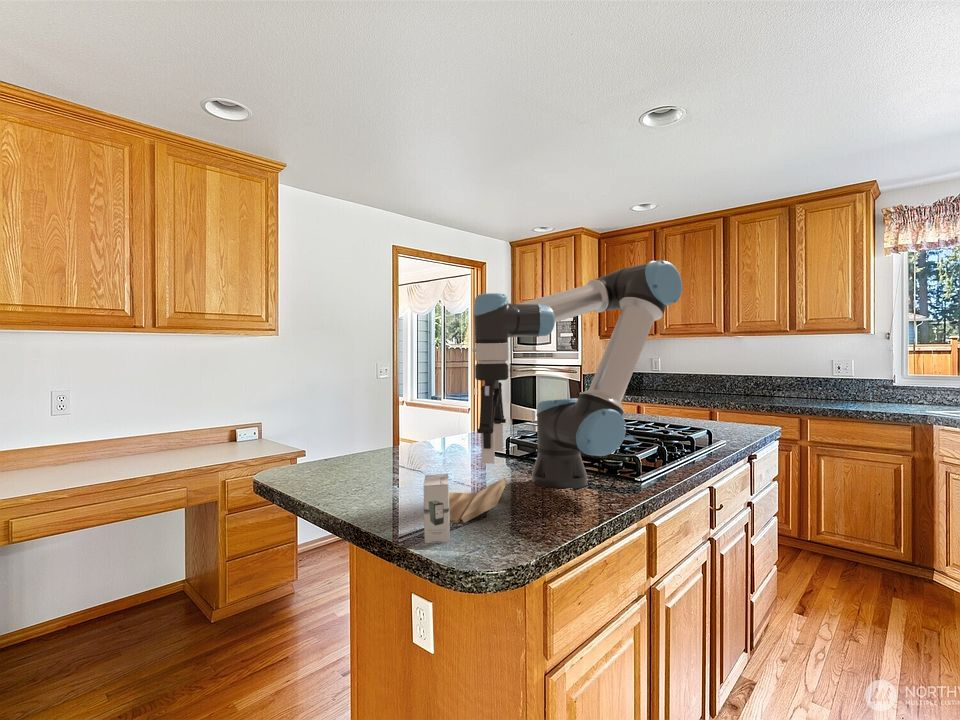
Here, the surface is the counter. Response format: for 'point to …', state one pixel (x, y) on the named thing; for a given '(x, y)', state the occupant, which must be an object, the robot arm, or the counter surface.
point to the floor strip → (459, 505)
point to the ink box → (436, 508)
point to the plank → (484, 500)
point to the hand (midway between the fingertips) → (493, 456)
